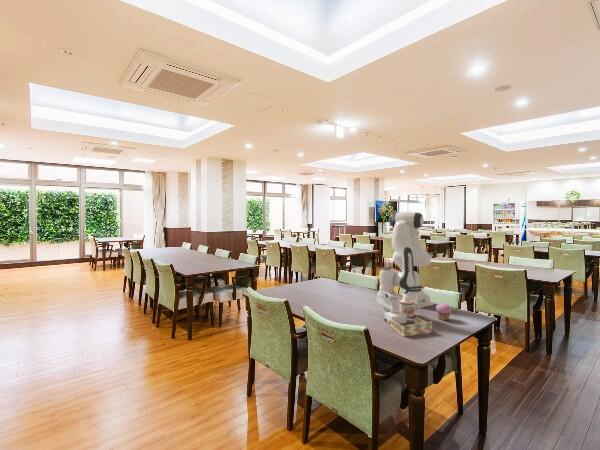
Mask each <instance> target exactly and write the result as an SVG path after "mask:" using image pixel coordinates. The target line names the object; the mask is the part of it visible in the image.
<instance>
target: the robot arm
mask: <svg viewBox="0 0 600 450" xmlns="http://www.w3.org/2000/svg"><path fill="white" fill-rule="evenodd" d="M424 219H425V218H424V215H423V214H422V213H420V212H417V211H416V212H414V211H413V212H412V211H400V212H399V211H394V212H392V213H390V215H389V218H388V221H389V223H388V224H389V225H390V226H391V227H392V229H393V230H392V234H391V247H392V249H393V250H394V253H393V254H392V261H393V263H394V264H395V266H397V267H398V268H399V270H400V271H399V270H398V269H395V268H393V267H392V266H383V267H382V268H381V269H380V271H379V277H378V278H379V279H378V280H379V287H378V288H379V290H377V294H376V303H377V304H378V305H380V306H382V307H383V310H384V311H383V312H384V314H385V313H388V312H397V311H399V310H398V309H399V300H398V298H399V294H398V292H396V291H395V287H397V288H401V289H402V299H401V300H403V299H405V297H408V299H410V300H412V301H414V303H415V304H417V306H418V307H417V309H420V308H425V307H426V308H427V307H430V306H434V302H432V301H431V298H430V295H429V294H428V293H426V292H425V291H423V290H424V289H425V285H420V273H418V272H417V271H415V270H414V269H415V268H414V267H426V266H429V264H430V263H431V260H432V259H431V258H432V257H431V255H430V254H429V252H427V251H426V250H425V249H424V248H423V247H422V245H421V242H420V238H419V237H420V235H419V234H420V233H419V229H420V228H421V227H423V225H424ZM422 289H423V290H422ZM414 308H416V305H414Z"/></svg>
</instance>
